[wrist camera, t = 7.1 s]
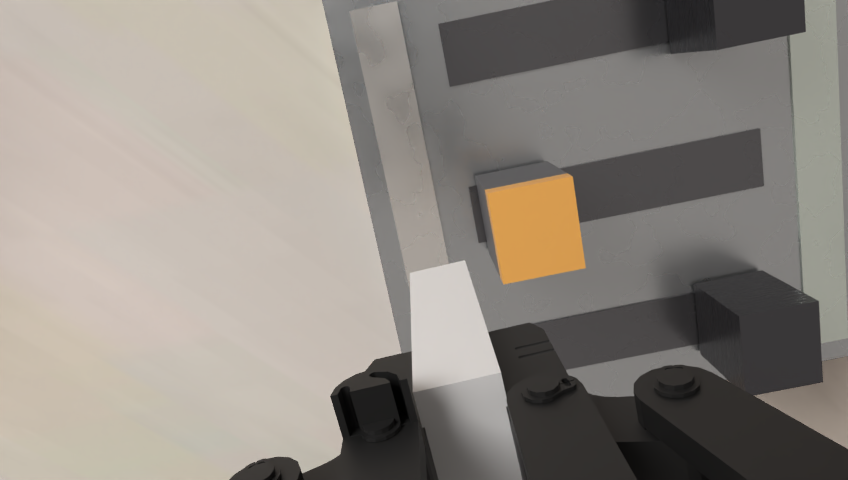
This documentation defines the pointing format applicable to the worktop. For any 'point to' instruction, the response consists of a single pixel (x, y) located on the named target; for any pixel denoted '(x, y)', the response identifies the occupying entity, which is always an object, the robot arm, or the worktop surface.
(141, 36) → the worktop surface
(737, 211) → the panel
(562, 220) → the block
